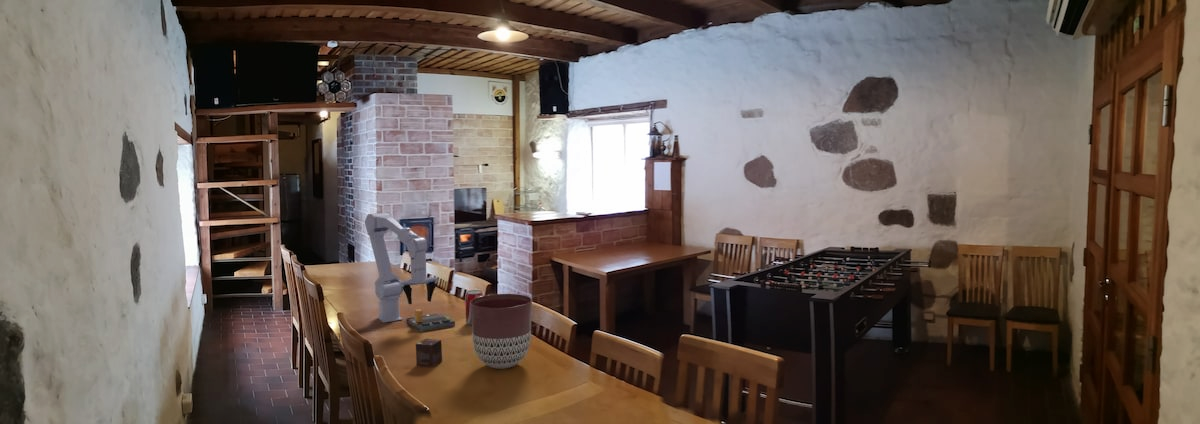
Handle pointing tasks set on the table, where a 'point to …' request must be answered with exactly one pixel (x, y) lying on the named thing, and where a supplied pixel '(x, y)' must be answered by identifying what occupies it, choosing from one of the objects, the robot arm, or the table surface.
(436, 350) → the box
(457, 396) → the table surface
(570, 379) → the table surface
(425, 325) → the panel
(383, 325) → the table surface
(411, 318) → the twin grey rollers
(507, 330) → the planter
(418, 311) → the breaker lever
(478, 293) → the soda can
